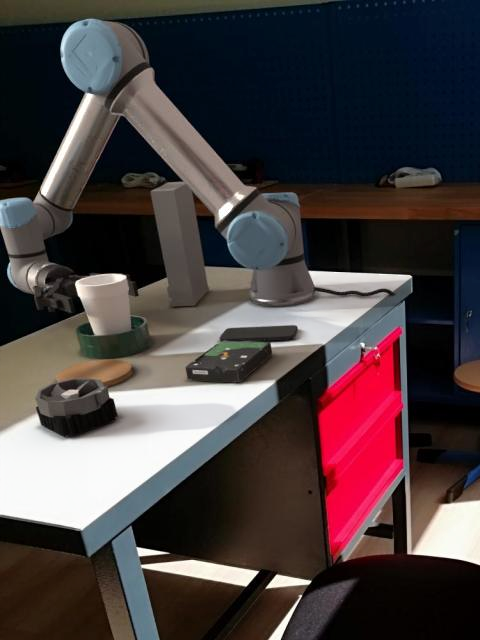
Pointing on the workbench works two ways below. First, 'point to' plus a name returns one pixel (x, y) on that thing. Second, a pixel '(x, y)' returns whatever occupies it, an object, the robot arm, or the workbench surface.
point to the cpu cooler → (75, 406)
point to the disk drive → (229, 361)
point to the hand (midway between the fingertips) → (104, 297)
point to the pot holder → (98, 371)
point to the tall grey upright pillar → (180, 243)
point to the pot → (114, 340)
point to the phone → (259, 333)
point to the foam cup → (106, 302)
